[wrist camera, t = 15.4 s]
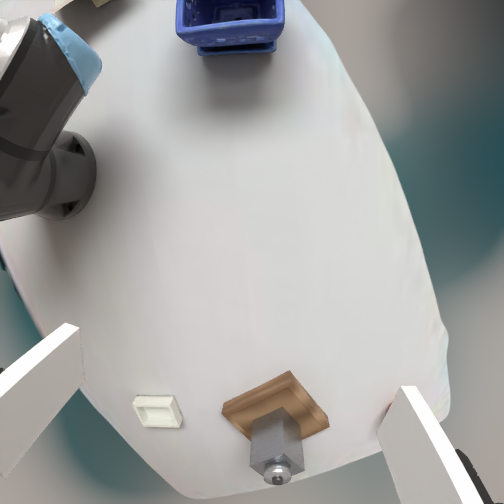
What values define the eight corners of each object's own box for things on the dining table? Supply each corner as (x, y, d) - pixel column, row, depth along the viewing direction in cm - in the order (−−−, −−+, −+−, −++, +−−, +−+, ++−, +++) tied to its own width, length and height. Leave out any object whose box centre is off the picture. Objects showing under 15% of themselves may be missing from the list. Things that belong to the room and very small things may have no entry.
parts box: (147, 416, 54) (142, 426, 51) (137, 395, 52) (132, 404, 49) (183, 417, 53) (179, 427, 50) (174, 395, 52) (169, 404, 49)
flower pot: (283, 61, 39) (288, 24, 27) (194, 66, 39) (172, 33, 28) (278, -4, 36) (280, -47, 24) (197, 2, 37) (179, -38, 25)
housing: (253, 419, 48) (248, 479, 35) (282, 406, 47) (284, 467, 34) (272, 437, 49) (271, 495, 35) (300, 425, 48) (305, 484, 34)
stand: (223, 403, 51) (221, 414, 48) (289, 370, 49) (290, 381, 46) (266, 444, 53) (265, 455, 50) (327, 416, 51) (329, 427, 48)
